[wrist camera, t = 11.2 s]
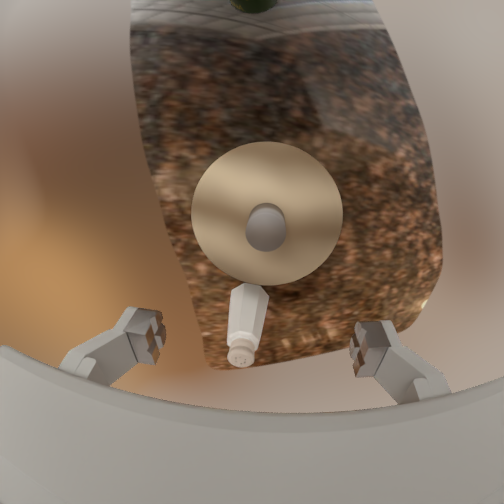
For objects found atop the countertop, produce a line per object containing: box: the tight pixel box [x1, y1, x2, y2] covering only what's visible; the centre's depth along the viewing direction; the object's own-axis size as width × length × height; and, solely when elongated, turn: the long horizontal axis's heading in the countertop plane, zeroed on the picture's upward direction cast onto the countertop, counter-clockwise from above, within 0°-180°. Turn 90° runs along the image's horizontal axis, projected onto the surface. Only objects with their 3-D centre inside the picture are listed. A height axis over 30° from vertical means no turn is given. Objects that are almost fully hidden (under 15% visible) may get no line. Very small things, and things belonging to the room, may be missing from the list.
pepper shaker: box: [227, 283, 269, 367], centre depth 31 cm, size 5×5×11 cm
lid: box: [191, 141, 343, 285], centre depth 22 cm, size 13×13×4 cm
